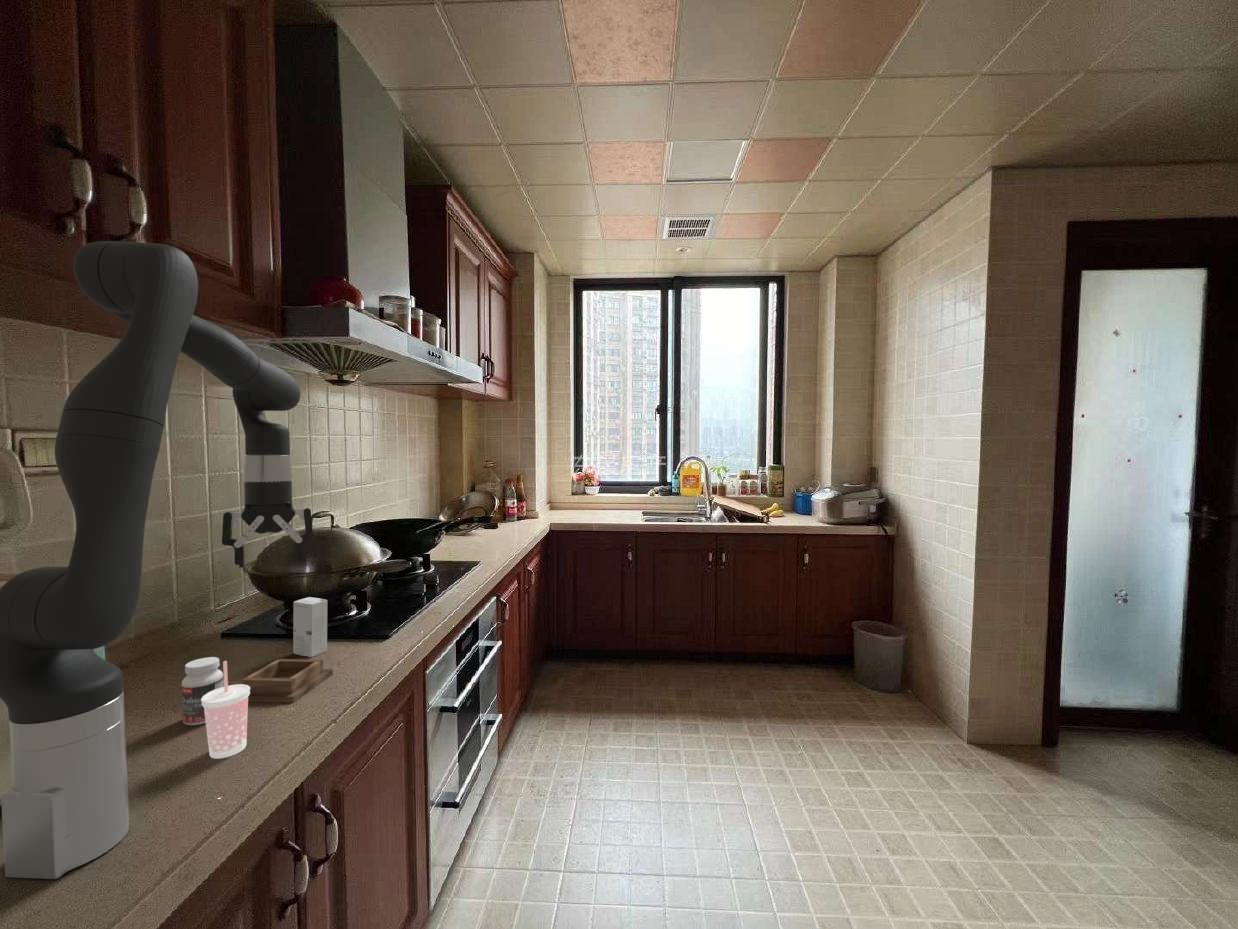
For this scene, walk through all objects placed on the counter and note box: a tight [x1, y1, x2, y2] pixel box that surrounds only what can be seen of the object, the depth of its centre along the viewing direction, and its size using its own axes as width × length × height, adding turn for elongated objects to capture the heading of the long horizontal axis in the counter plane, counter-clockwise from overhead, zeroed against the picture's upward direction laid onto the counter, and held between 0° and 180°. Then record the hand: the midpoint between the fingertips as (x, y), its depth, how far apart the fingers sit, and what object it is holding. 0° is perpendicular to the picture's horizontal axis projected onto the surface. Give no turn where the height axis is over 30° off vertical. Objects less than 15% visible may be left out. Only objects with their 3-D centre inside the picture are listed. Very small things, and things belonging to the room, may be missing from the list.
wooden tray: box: [241, 658, 334, 703], centre depth 103 cm, size 12×12×4 cm
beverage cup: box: [201, 660, 250, 759], centre depth 81 cm, size 6×6×14 cm
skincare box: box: [292, 596, 328, 658], centre depth 120 cm, size 6×4×12 cm
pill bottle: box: [181, 656, 224, 726], centre depth 91 cm, size 6×6×10 cm
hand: (269, 564), depth 99 cm, fingers open, 8 cm apart
